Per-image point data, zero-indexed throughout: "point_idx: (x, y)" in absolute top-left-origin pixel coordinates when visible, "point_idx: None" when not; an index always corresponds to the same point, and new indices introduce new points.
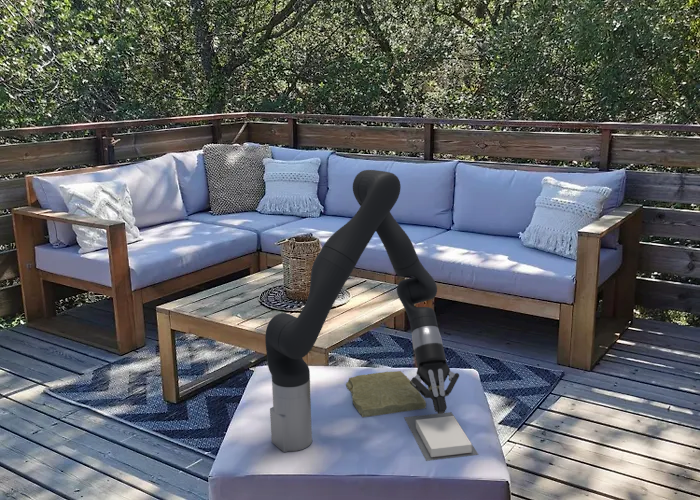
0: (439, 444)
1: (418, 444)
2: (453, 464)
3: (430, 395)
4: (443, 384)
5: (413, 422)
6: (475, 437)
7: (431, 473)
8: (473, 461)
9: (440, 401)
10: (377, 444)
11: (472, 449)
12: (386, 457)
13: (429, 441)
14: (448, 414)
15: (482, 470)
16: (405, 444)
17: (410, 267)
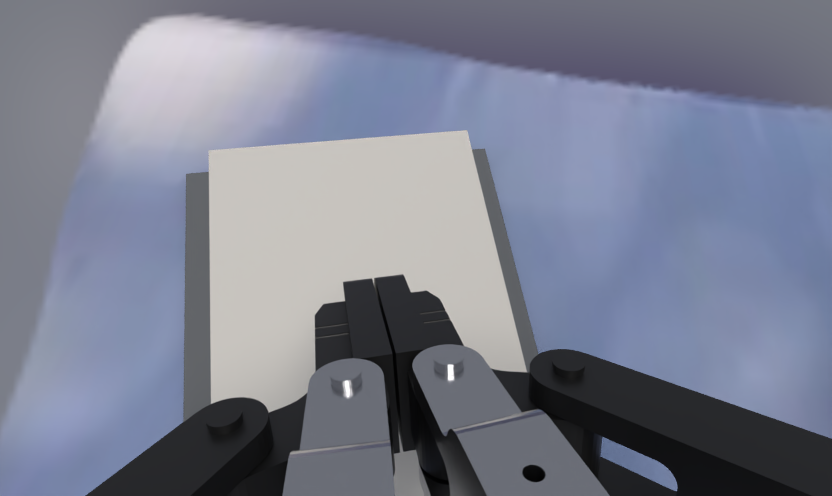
0: (413, 168)
1: (520, 300)
2: (347, 126)
3: (523, 381)
4: (302, 460)
5: None
6: (124, 381)
7: (463, 76)
8: (235, 138)
9: (384, 326)
10: (755, 337)
11: (203, 224)
12: (682, 210)
13: (472, 205)
14: None
15: (216, 70)
16: (594, 326)
17: None
